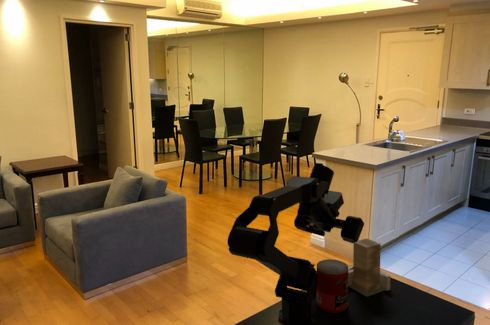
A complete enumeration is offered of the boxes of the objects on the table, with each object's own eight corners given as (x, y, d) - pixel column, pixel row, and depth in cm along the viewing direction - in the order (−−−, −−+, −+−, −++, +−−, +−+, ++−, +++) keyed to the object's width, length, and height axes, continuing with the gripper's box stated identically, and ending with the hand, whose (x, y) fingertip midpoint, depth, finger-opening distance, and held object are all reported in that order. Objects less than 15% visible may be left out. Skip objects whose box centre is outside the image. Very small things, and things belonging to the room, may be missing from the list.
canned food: (340, 316, 98) (340, 274, 96) (311, 307, 103) (310, 267, 101) (353, 303, 104) (353, 263, 102) (324, 295, 109) (324, 256, 107)
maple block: (366, 293, 108) (367, 247, 106) (353, 286, 113) (353, 242, 110) (379, 288, 111) (380, 243, 108) (366, 281, 115) (366, 238, 113)
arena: (355, 302, 104) (355, 287, 104) (333, 288, 112) (333, 275, 111) (390, 289, 110) (390, 275, 110) (366, 277, 118) (366, 264, 117)
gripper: (361, 188, 100) (379, 219, 110) (299, 179, 112) (320, 208, 122) (346, 226, 95) (366, 256, 105) (282, 213, 108) (306, 240, 118)
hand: (338, 238), depth 113 cm, fingers open, 9 cm apart
